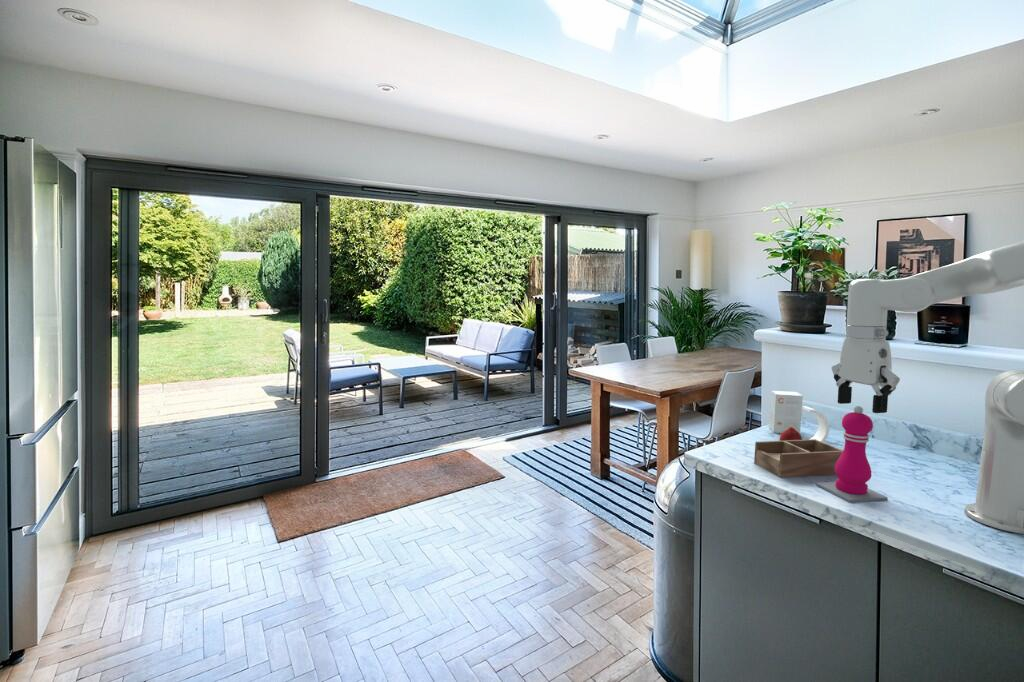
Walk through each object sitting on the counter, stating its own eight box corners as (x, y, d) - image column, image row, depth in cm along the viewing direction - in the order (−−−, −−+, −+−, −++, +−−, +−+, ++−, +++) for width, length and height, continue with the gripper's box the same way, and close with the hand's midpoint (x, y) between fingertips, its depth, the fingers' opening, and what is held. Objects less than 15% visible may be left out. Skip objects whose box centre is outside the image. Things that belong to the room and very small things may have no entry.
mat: (887, 499, 118) (887, 497, 118) (849, 502, 116) (849, 499, 116) (851, 483, 128) (851, 480, 128) (815, 485, 126) (815, 482, 126)
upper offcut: (798, 469, 133) (798, 462, 133) (777, 468, 133) (777, 461, 133) (786, 460, 140) (787, 454, 139) (766, 459, 140) (766, 453, 140)
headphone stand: (799, 444, 159) (802, 405, 157) (819, 445, 158) (823, 406, 157) (806, 449, 154) (809, 409, 153) (827, 449, 154) (831, 410, 152)
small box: (794, 429, 175) (797, 391, 174) (800, 434, 169) (803, 395, 168) (768, 427, 177) (770, 390, 175) (773, 433, 171) (776, 394, 169)
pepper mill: (875, 497, 118) (884, 410, 116) (840, 494, 119) (848, 408, 117) (861, 485, 125) (868, 403, 123) (828, 482, 126) (835, 401, 124)
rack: (844, 474, 134) (846, 451, 133) (780, 477, 131) (782, 454, 130) (813, 460, 144) (815, 439, 144) (754, 463, 141) (755, 441, 140)
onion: (803, 452, 151) (805, 425, 150) (798, 457, 146) (800, 429, 146) (782, 448, 155) (783, 422, 154) (776, 452, 150) (777, 425, 149)
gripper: (915, 336, 110) (909, 415, 112) (849, 330, 127) (845, 399, 129) (884, 337, 109) (879, 417, 110) (822, 331, 126) (818, 400, 127)
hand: (861, 407), depth 119 cm, fingers open, 9 cm apart
